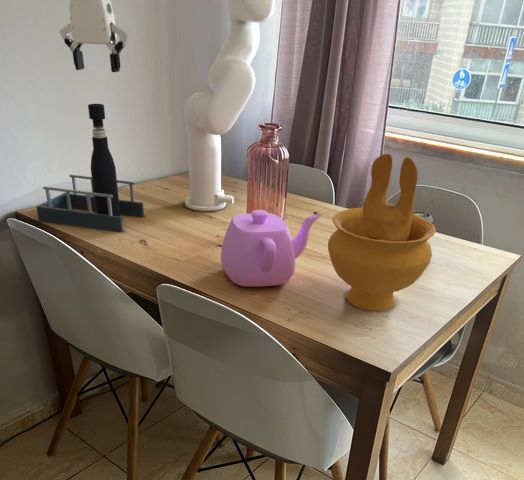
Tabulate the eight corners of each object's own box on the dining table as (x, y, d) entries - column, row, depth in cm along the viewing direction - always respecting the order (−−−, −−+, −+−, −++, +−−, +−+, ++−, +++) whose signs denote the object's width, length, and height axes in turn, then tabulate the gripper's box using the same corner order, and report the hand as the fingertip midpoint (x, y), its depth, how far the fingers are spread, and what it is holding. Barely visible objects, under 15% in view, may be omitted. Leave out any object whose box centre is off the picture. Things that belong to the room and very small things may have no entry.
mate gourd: (403, 236, 152) (414, 182, 144) (432, 241, 150) (444, 186, 142) (400, 246, 146) (410, 189, 138) (430, 250, 144) (442, 194, 136)
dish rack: (144, 216, 158) (141, 182, 153) (121, 232, 146) (118, 196, 141) (66, 205, 162) (61, 173, 157) (38, 220, 151) (32, 185, 146)
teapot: (231, 302, 114) (232, 233, 106) (215, 262, 132) (215, 200, 124) (334, 295, 119) (342, 229, 111) (306, 257, 137) (311, 197, 128)
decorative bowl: (304, 302, 116) (318, 156, 100) (348, 270, 131) (366, 139, 115) (398, 334, 106) (429, 177, 90) (434, 295, 121) (466, 156, 105)
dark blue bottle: (117, 225, 151) (105, 107, 135) (94, 223, 151) (79, 106, 135) (123, 217, 156) (111, 103, 140) (100, 216, 156) (86, 102, 140)
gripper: (129, -10, 128) (136, 71, 138) (63, -13, 131) (74, 67, 141) (115, -11, 122) (123, 74, 131) (45, -14, 125) (58, 70, 135)
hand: (97, 70), depth 136 cm, fingers open, 9 cm apart
